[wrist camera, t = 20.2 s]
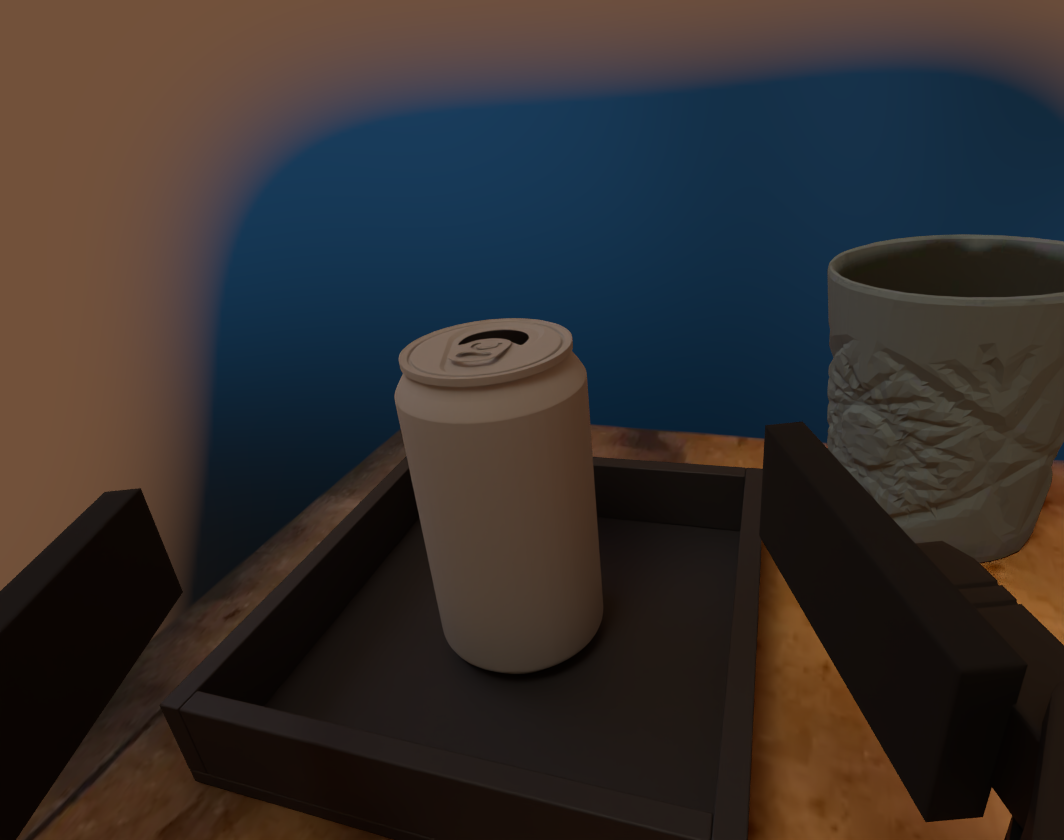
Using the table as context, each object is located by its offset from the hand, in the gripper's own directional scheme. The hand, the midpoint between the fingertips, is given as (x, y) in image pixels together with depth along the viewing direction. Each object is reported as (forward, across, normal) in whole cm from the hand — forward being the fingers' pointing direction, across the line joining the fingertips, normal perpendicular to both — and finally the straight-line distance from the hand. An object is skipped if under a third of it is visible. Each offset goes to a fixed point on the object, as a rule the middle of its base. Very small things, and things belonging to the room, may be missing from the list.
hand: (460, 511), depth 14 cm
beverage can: (+8, 0, -11) cm, 14 cm away
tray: (+8, 0, -12) cm, 14 cm away
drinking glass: (+14, +20, -12) cm, 27 cm away
